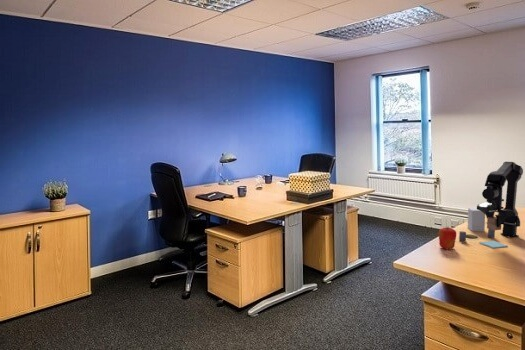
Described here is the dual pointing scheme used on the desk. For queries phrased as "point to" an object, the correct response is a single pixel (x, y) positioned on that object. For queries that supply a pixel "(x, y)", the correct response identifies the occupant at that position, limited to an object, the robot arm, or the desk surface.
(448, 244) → the apple
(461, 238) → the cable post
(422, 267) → the desk surface
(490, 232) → the cylinder
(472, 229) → the supplement box
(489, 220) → the walnut block
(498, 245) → the pale teal mat
